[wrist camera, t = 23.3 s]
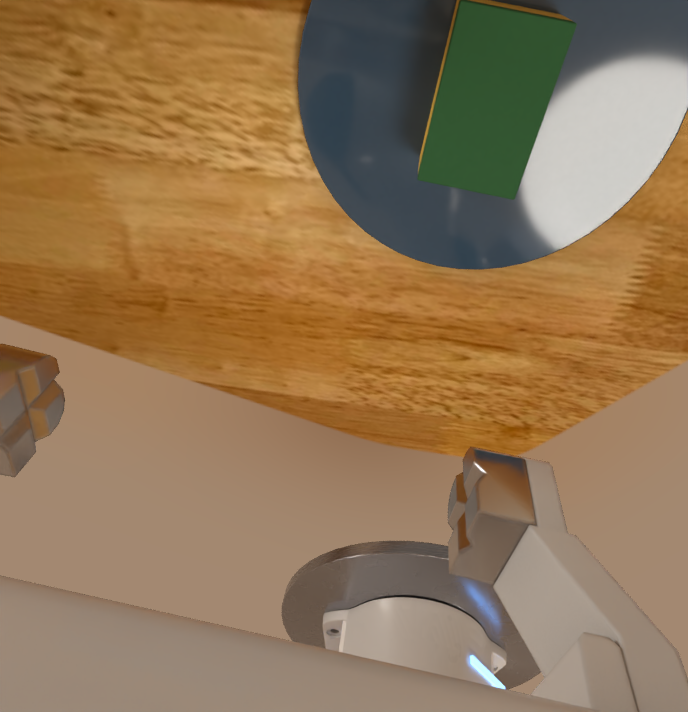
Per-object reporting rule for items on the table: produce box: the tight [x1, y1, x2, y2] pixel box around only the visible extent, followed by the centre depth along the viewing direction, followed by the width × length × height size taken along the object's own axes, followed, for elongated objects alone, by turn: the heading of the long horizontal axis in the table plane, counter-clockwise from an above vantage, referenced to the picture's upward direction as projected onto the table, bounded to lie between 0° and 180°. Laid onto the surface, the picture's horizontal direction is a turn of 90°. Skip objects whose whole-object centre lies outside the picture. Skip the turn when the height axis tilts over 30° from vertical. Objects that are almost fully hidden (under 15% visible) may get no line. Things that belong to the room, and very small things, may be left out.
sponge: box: [417, 0, 577, 200], centre depth 24 cm, size 7×4×4 cm, turn 171°
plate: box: [298, 0, 688, 269], centre depth 26 cm, size 18×18×1 cm
